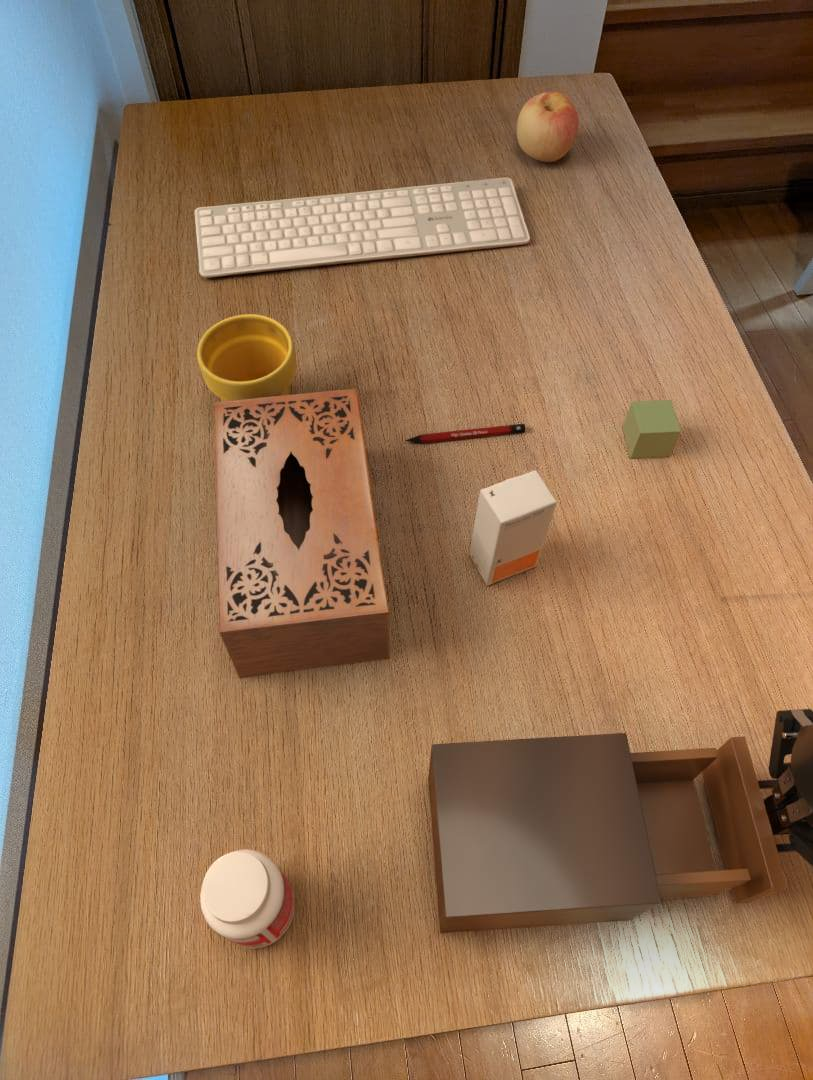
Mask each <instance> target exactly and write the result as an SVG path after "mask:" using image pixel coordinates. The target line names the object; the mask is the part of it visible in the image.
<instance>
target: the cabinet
mask: <svg viewBox="0 0 813 1080" xmlns="http://www.w3.org/2000/svg"><path fill="white" fill-rule="evenodd" d="M629 745H630V744H629V740H628V735H627V733H626V732H617V733H600V734H584V735H568V736H567V735H566V736H551V737H549V736H547V737H536V738H535V737H534V738H517V739H516V738H515V739H498V740H481V741H466V742H464V741H463V742H450V743H449V742H447V743H433V744H431V749H430V758H429V767H428V774H427V775H428V777H427V780H428V781H427V782H428V794H429V806H430V809H429V810H430V819H431V820H430V821H431V834H432V835H431V836H432V847H433V861H434V874H435V888H436V900H437V901H436V902H437V911H438V913H437V914H438V926H439V934H451V933H467V932H479V931H481V932H482V931H496V930H508V929H509V930H510V929H511V930H512V929H524V928H541V927H553V926H554V927H555V926H567V925H583V924H597V923H599V924H601V923H611V922H612V923H613V922H626V921H627V922H628V921H631V920H633V919H635V918H636V917H638V916H641V915H642V914H644V913H645V912H647V911H650V910H651V909H653V908H655V907H657V906H659V905H661V904H662V899H661V898H660V893H659V888H658V883H657V879H656V874H655V869H654V864H653V859H652V855H651V850H650V845H649V840H648V835H647V831H646V826H645V821H644V816H643V811H642V807H641V802H640V797H639V792H638V787H637V783H636V778H635V773H634V768H633V764H632V759H631V754H630V753H631V750H630V749H631V748H630V746H629Z"/></svg>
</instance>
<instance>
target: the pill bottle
mask: <svg viewBox="0 0 813 1080" xmlns="http://www.w3.org/2000/svg"><path fill="white" fill-rule="evenodd" d="M202 881H203V882H202V884H201V888H200V897H199V901H200V908H201V913H202V915H203V917H204V920H205V921H206V923H207V924H208V926H209V927H210V928H211V929H212V930H214V932H216V933H217V934H218V935H220V936H222V937H224V938H225V939H227V940H228V941H231V942H232V943H234V944H236V945H237V946H240V947H242V948H245V949H261V948H266V947H268V946H270V945H272V944H274V943H275V942H277V941H278V940H279V939H280V938H282V936H283V935H284V934H285V933H286V932H287V931H288V930H289V927H290V926H291V923H292V921H293V918H294V915H295V909H296V907H295V906H296V898H295V893H294V890H293V888H292V885H291V883H290V882H289V879H287V877H286V876H285V874H284V873H283V872H282V870H281V869H280V868H279V866H278V864H276V862H275V861H274V860H273V859H272V858H270V857H269V856H268V855H266V854H265V853H263V852H261V851H258V850H254V849H247V848H246V849H244V848H243V849H238V850H234V851H231V852H228V853H226V854H223V855H221V856H220V857H218V858H217V859H216V860H215V861H214V862H212V864H211V865H210V867H209V868H208V869H207V871H206V873H205V875H204V878H203V880H202Z"/></svg>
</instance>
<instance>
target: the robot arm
mask: <svg viewBox="0 0 813 1080" xmlns="http://www.w3.org/2000/svg"><path fill="white" fill-rule="evenodd" d="M772 735H773V736H772V741H771V748H770V755H769V762H768V773H769V777H770V778H771V780H776V779H777V786H776V787H775V788H773V789H772V791H771V794H770V795H768V796H767V797H766V798H764V799H763V802H764V805H765V809H766V812H767V816H768V819H769V823H770V826H771V830H772V833H773V836H787V835H788V839H789V843H790V844H791V846H792V848H793V849H794V850H795V851H796V852H795V853H797V854H799V855H800V856H801V857H802V858H803V859H804V860H805V861H806V862H807V863H808V864H809V865H810V866H811V867H812V868H813V710H812V709H811V708H796V709H795V708H794V709H784V710H777V711H776V714H775V720H774V727H773V734H772ZM788 755H790V761H789V762H785V758H786V756H788Z"/></svg>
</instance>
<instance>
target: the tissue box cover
mask: <svg viewBox="0 0 813 1080" xmlns="http://www.w3.org/2000/svg"><path fill="white" fill-rule="evenodd" d="M214 426H215V427H214V431H215V432H214V434H215V435H214V438H215V481H216V485H215V486H216V530H217V536H216V537H217V538H216V539H217V582H218V584H217V585H218V625H219V627H218V629H219V630H218V631H219V635H220V637H221V640H222V641H223V644H224V646H225V649H226V651H227V653H228V655H229V658H230V660H231V663H232V665H233V667H234V669H235V671H236V674H237V676H238V678H246V677H254V676H262V675H263V676H264V675H272V674H279V673H286V672H293V671H302V670H309V669H311V670H312V669H319V668H326V667H335V666H344V665H350V664H359V663H367V662H374V661H383V660H390V659H391V658H390V619H389V618H390V614H389V613H390V612H389V606H388V599H387V591H386V585H385V578H384V577H385V576H384V570H383V563H382V556H381V549H380V541H379V536H378V535H379V533H378V529H377V528H378V527H377V520H376V514H375V506H374V500H373V492H372V484H371V479H370V471H369V463H368V457H367V450H366V443H365V436H364V435H365V434H364V428H363V421H362V415H361V407H360V399H359V393H358V388H356V387H355V388H346V389H345V388H344V389H337V390H335V389H334V390H326V391H325V390H324V391H316V392H307V393H306V392H305V393H296V394H289V395H284V396H274V397H264V398H253V399H243V400H233V401H215V402H214Z"/></svg>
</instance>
